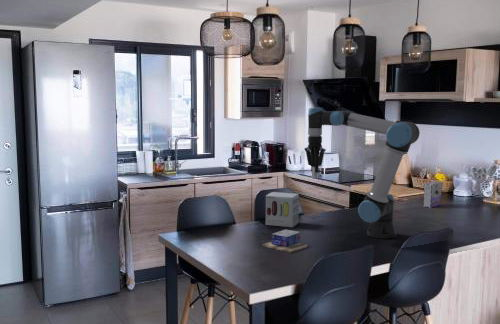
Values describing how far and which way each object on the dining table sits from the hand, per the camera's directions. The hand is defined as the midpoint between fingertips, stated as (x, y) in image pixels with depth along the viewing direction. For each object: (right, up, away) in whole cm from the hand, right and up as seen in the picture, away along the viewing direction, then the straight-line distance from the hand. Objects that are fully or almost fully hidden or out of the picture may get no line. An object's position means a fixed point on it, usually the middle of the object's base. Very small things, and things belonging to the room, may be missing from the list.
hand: (314, 178), depth 285 cm
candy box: (+91, -22, +72) cm, 118 cm away
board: (-18, -34, -26) cm, 47 cm away
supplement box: (-17, -28, +22) cm, 40 cm away
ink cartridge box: (-14, -29, -19) cm, 37 cm away
